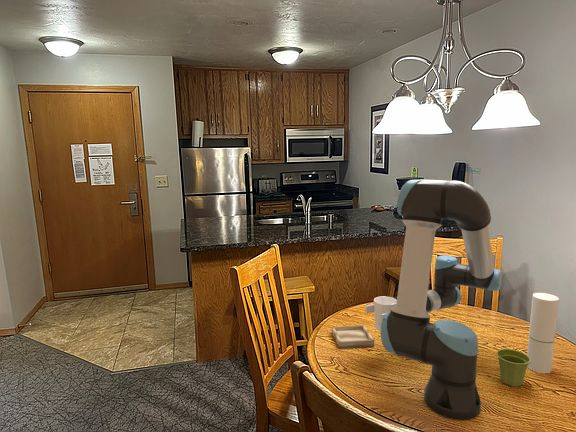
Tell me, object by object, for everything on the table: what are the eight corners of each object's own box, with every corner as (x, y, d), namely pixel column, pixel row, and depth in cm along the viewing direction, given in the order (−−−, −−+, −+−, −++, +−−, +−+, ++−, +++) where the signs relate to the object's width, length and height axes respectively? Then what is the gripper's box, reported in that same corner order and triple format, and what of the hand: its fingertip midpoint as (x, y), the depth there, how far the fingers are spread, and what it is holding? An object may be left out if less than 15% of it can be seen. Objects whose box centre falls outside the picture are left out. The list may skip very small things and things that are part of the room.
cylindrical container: (553, 367, 133) (560, 296, 129) (548, 376, 127) (556, 302, 123) (529, 360, 137) (535, 291, 133) (523, 368, 132) (530, 297, 128)
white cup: (397, 333, 133) (398, 305, 131) (373, 332, 134) (373, 303, 133) (395, 323, 140) (396, 296, 139) (373, 322, 142) (373, 295, 140)
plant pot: (488, 373, 130) (490, 348, 128) (518, 373, 130) (520, 348, 128) (503, 390, 121) (505, 363, 119) (535, 390, 120) (537, 363, 119)
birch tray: (374, 346, 148) (374, 340, 148) (339, 348, 147) (339, 342, 147) (363, 330, 161) (363, 325, 161) (331, 332, 160) (331, 326, 160)
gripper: (446, 322, 136) (393, 336, 126) (404, 302, 154) (355, 313, 144) (447, 301, 134) (394, 314, 125) (405, 284, 153) (356, 293, 143)
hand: (373, 313), depth 134 cm, fingers closed on white cup, 8 cm apart
